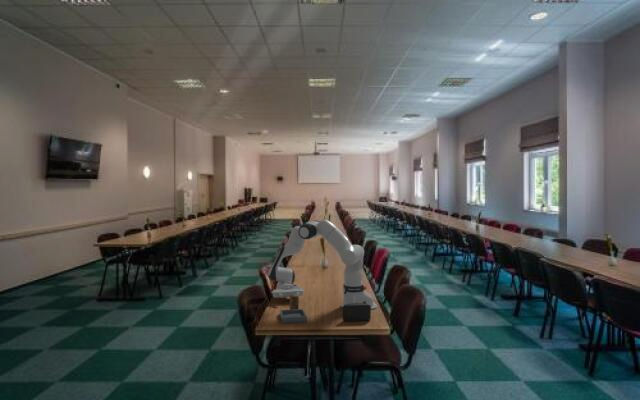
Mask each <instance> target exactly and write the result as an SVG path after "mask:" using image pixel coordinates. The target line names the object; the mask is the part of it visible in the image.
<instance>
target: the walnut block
mask: <svg viewBox="0 0 640 400" xmlns="http://www.w3.org/2000/svg"><path fill="white" fill-rule="evenodd" d="M299 297H300V296H298V295H297V294H291V295H290V297H289V310H291V309H299V306H300V305H299V302H300V301H299Z"/></svg>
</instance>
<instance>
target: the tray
mask: <svg viewBox="0 0 640 400" xmlns="http://www.w3.org/2000/svg"><path fill="white" fill-rule="evenodd" d="M279 316H280V321H281V324H297V323H308V316H307V314H306V311H305V309H304V308H298V309H291V310H290V309H280V310H279Z"/></svg>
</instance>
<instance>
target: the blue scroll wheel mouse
mask: <svg viewBox="0 0 640 400" xmlns="http://www.w3.org/2000/svg"><path fill="white" fill-rule="evenodd" d="M371 313H372V309H371V306H370V305H369V304H364V303H351V304H345V305H344V306H343V307H342V321H343V322H366V321H367V322H368V321H370V320H371V318H372V317H371V316H372V315H371Z"/></svg>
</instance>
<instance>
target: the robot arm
mask: <svg viewBox="0 0 640 400" xmlns="http://www.w3.org/2000/svg"><path fill="white" fill-rule="evenodd" d="M318 236H321V237H322V238H323V239H324V240H325V241H326V242H327V243H328V244H329V245H330V246H332V248H333V249H334V250H335V251H336V253H337V255H338V256H339V257H340V260H341V262H342V263H343V265H345V268H344V271H343V273H344V274H343V277H344V278H343V287H342V290H343V291H342V293H343V295H342V296H343V297H342V302H341V308H343V306H344V305H345V304H351V303H364V304H369V305H370V306H371V310H373V309H374V310H375V309H377V308H378V306H377V304H376V303H375V302H374V299H373V297H372V296H371V294H370V293H368V292H367V291H366V290H367V286H365V285H364V284H362V274H363V273H362V271H363V264H364V256H365V248H364V247H363V246H362V245H359V244H352V243H351V241H350V240H349V239H348V237H347V236H346V234H345V233H344V232H342V230H341V229H340V228H339V227H338V226H336V225H335V224H334V223H332V222H331V221H330V220H328V219H326V218H325V219H321V220H311V221H307V222H304V223H303V224H301V225H296V226H294V227H293V228H292V229H291V232H290V233H289V237H288V240H287V241H286V243H285V244H284V245H282V246H281V247H280V249H279V250H278V252H277V254H276V255H275V258H274V260H273V263H272V265H270V267H269V269H268V272H267V277H268V278H269V280H270V281H272V282H273V281H275V282H276V281H277V284H276V288H277V289H273V290H272V291H271V294H272V297H273V298H277V299H278V298H281V299H283V298H286V299H287V298H290V295H291V294H297V295H298V296H299V297H303V296H304V288H302V287H300V285H298V284H294V283H295V279H296V273H295V271H294V269H293V268H289V267H283V266H282V267H281V266H280V265H281V262H282V261H283V259H284V258H285V257H289V256H294V255H298V254H300V253H301V252H302V250H303V248H304V245H305V242H306V240H310V239H314V238H316V237H318Z"/></svg>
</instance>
